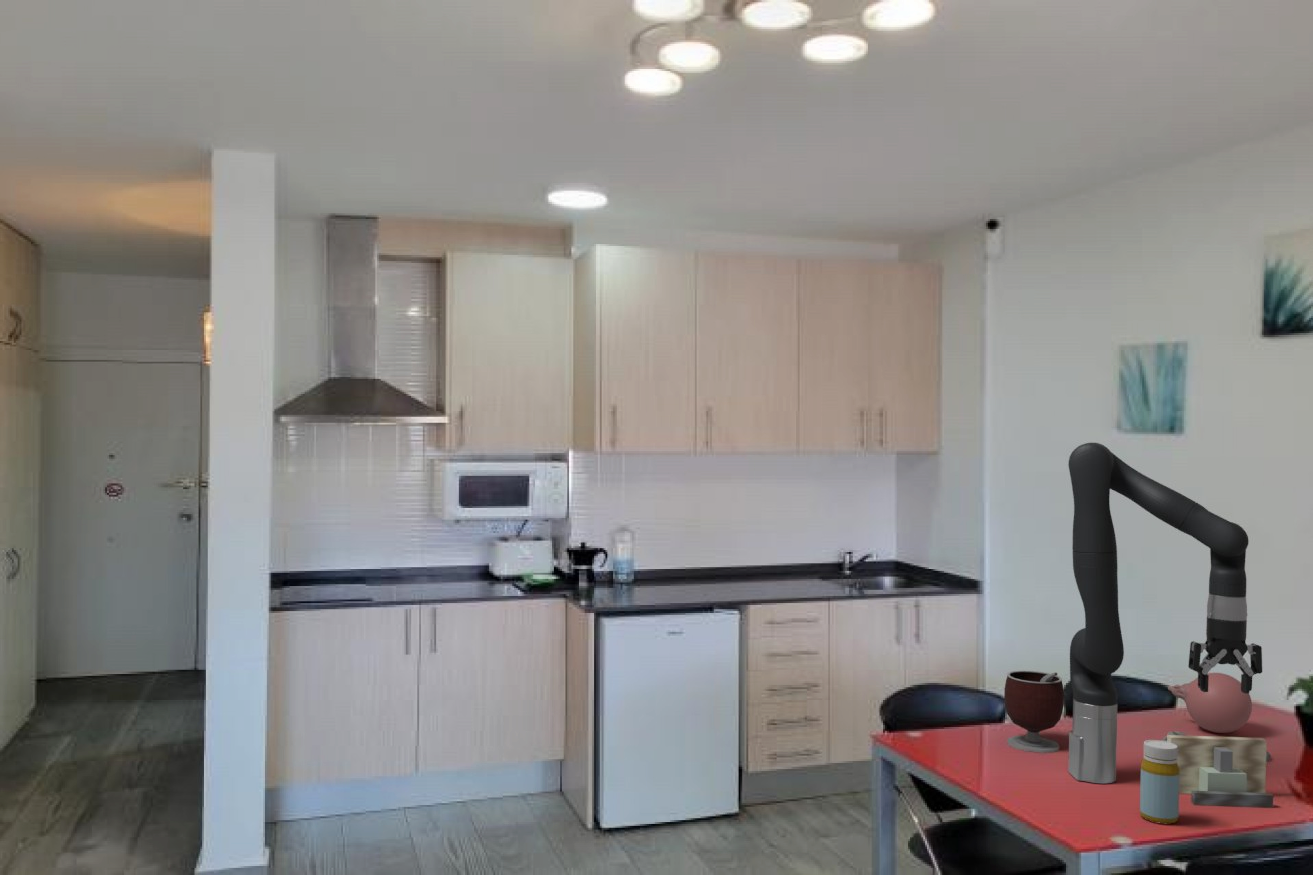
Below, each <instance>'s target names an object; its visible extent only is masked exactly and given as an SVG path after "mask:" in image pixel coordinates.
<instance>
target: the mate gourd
mask: <svg viewBox="0 0 1313 875" xmlns="http://www.w3.org/2000/svg"><path fill="white" fill-rule="evenodd" d="M1006 675H1007V676H1006V680H1005V685H1004V690H1003V691H1004V692H1003V693H1004V694H1003V695H1004V696H1003V697H1004V706H1005V712H1006V714H1007V716H1008V717H1009V719H1010V720H1011V722H1012V723H1013V724H1015V725H1016V726H1018V727H1020V728H1021V729H1024V730H1025V731H1027V732H1026V735H1014V736H1010V737H1008V738H1007V740H1006V744H1007V743H1008V744H1007V745H1008V746H1009V745H1010V746H1011V748H1013V747H1015V748H1016V749H1015V748H1014V749H1015V750H1018V749H1021V750H1020V751H1022V750H1024V752H1027V751H1033V752H1032V753H1034V752H1039V753H1038V754H1051V753H1055V752H1058V751H1060V744H1059V743H1058V742H1057V741H1054V740H1052V739H1049V738H1046V737H1041V735H1040V732H1042V731H1046V730H1050V729H1052V728H1054V727H1056V726H1057V724H1058V723H1059V722H1060V721H1061V719H1062V716H1063V711H1064V706H1065V692H1064V685H1063V679H1062V677H1061V676H1059V675H1058V672H1051V673H1050V672H1049V673H1048V672H1043V671H1035V670H1016V671H1015V670H1014V671H1009V672H1008V673H1007V674H1006ZM1010 746H1009V747H1010Z"/></svg>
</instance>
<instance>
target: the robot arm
mask: <svg viewBox="0 0 1313 875" xmlns="http://www.w3.org/2000/svg"><path fill="white" fill-rule="evenodd" d="M1068 469H1069V470H1068V471H1069V476H1070V482H1071V488H1072V497H1073V509H1074V510H1073V522H1072V549H1071V550H1072V567H1073V568H1072V569H1073V574H1074V580H1075V583H1076V586H1077V589H1078V593H1079V595H1080V598H1081V601H1082V605H1083V610H1084V614H1085V615H1084V619H1085V620H1084V621H1085V622H1084V623H1085V627H1084V628H1081V629H1080V630H1078V631H1077V632H1076V633H1075V634H1074V635H1073V637H1072V639H1071V642H1070V646H1069V676H1070V678H1069V681H1070V686H1071V688H1072V729H1071V730H1069V731H1068V732H1069V733H1068V773H1069V774H1070V775H1071V776H1072V777H1073V778H1075V780H1076V781H1083V782H1087V783H1092V784H1111V783H1112V784H1113V783H1114V782H1116V781H1117V748H1118V747H1117V746H1118V745H1117V739H1118V738H1117V737H1118V736H1117V735H1118V731H1117V730H1118V697H1119V696H1118V695H1119V694H1118V690H1117V688H1116V687H1115V684H1114V682H1113V680H1112V674H1114V673H1115V672H1117V671H1118V670H1119V669H1120V667H1121V666H1122V664H1123V661H1124V656H1125V651H1124V650H1125V649H1124V641H1123V636H1122V629H1121V622H1120V613H1119V585H1118V584H1119V583H1118V582H1119V580H1118V569H1119V568H1118V546H1117V539H1116V538H1117V537H1116V532H1115V526H1114V522H1113V517H1112V514H1111V504H1110V495H1111V493H1110V492H1111V491H1110V490H1112V491H1114V492H1116V493H1118V494H1120V495H1122V496H1124V497H1125V498H1127V499H1129V500H1131V501H1132V502H1133V503H1135V504H1136V505H1138V506H1140V508H1142V509H1143V510H1145V511H1146V512H1148V513H1149V514H1150V515H1152V516H1154V517H1155V518H1157V519H1159V520H1160V521H1161V522H1164V523H1165V524H1167V525H1169V526H1171V527H1172V528H1174V529H1175V530H1178V531H1180V532H1181V533H1183V534H1187V535H1188V536H1191V537H1192V538H1194V539H1195V540H1197V541H1198V542H1199V543H1201V544H1203V545H1204V546H1205V547H1206V548H1208V549H1210V550H1209V551H1210V553H1209V554H1210V557H1209V558H1210V569H1209V570H1210V572H1209V580H1208V581H1209V582H1208V598H1207V601H1206V602H1207V604H1206V629H1205V631H1206V632H1205V633H1206V634H1205V635H1206V636H1205V637H1206V640H1205V642H1204V643H1202V642H1196V641H1194V640H1193V641H1191V642H1190V644H1189V655H1188V664H1187V665H1188V668H1189V669H1190V670H1192V671H1193V672H1196V673H1197V678H1198V687H1199V688H1200V690H1201V691H1203V692H1208V680H1209V675H1207V673H1210V671H1211V670H1212V669H1213V668H1215V667H1216V666H1217V665H1218V664H1219V665H1227V664H1228V665H1231V666H1235V665H1236V666H1237V667H1238V668H1239V670H1240V671H1241V672H1242V673H1241V675H1240V682H1241V692H1243V693H1245V694H1249V695H1250V692H1252V690H1253V689H1252V688H1253V676H1254V675H1256V674H1262V673H1263V652H1262V650H1263V648H1262V645H1259V644H1256V643H1251V644H1247V643H1246V642H1247V640H1246V639H1247V625H1248V624H1247V623H1248V620H1247V619H1248V604H1247V573H1246V557H1247V556H1246V553H1247V548H1248V546H1249V536H1248V533H1247V532H1246V530H1245V529H1244V528H1243V527H1242V526H1240V524H1238V523H1236V522H1232V521H1228V520H1227V519H1225V518H1223V517H1221V516H1220V515H1218V514H1215V513H1213V512H1211V511H1210V510H1209V509H1207V508H1206V507H1205V506H1203V505H1201V504H1200V503H1198V502H1196V501H1195V500H1193V499H1191V498H1189V497H1188V496H1185V495H1184V494H1182V493H1180V492H1178V491H1176V490H1174V489H1172V488H1170V487H1168V486H1166V485H1164V484H1163V483H1160V482H1158V481H1157V480H1154V479H1152V478H1151V477H1149V476H1147V475H1145V474H1143V473H1141V472H1140V471H1138V470H1136V469H1135V468H1133V467H1132V466H1130V465H1129V464H1127V463H1126V462H1125V461H1123V460H1122V459H1121V458H1120V457H1118V456H1117V455H1116V454H1114V453H1113V452H1112V451H1111V450H1110V449H1109V448H1108V447H1106V446H1105V445H1104V444H1101V443H1099V442H1086V443H1083V444H1082V443H1081V444H1080V445H1078V446H1077V447H1075V449H1073V450H1072V452H1071V454H1070V455H1069V458H1068ZM1204 650H1205V651H1206V652H1207V654H1206V655H1205V656H1204V657H1203V658H1202V661H1201V654H1202V653H1203V652H1204ZM1246 653H1248V654H1249V655H1250V657H1249V658H1250V659H1249V660H1250V666H1249V663H1248V661H1247V660H1246V659H1245V658H1244V656H1245V654H1246Z"/></svg>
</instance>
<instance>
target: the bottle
mask: <svg viewBox="0 0 1313 875" xmlns="http://www.w3.org/2000/svg"><path fill="white" fill-rule="evenodd" d="M1177 756H1178V747H1177V745H1175V744H1173V743H1170V742H1166V741H1162V740H1159V739H1148V740H1144V741H1143V759H1142V762H1141V764H1140V785H1139V786H1140V790H1139V792H1140V794H1139V795H1140V797H1139V813H1140V816H1142V818H1143V819H1144V818H1146V819H1147V820H1146V819H1145V820H1146V821H1148V820H1151V821H1153V822H1160V823H1167V824H1166V825H1171V824H1170V823H1173V824H1175V823H1177V821H1178V820H1179V814H1180V813H1179V812H1180V810H1179V809H1180V793H1179V774H1180V773H1179V767H1178V764H1177ZM1153 822H1152V823H1153Z"/></svg>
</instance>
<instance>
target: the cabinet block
mask: <svg viewBox="0 0 1313 875" xmlns="http://www.w3.org/2000/svg"><path fill="white" fill-rule="evenodd" d="M1232 763H1233V752H1232V751H1231V750H1229V749H1228V748H1226V747H1214V767H1199V791H1220V792H1246V789H1247V774H1246V773H1244V772H1243V771H1241V770H1240V769H1238V768H1232Z"/></svg>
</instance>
